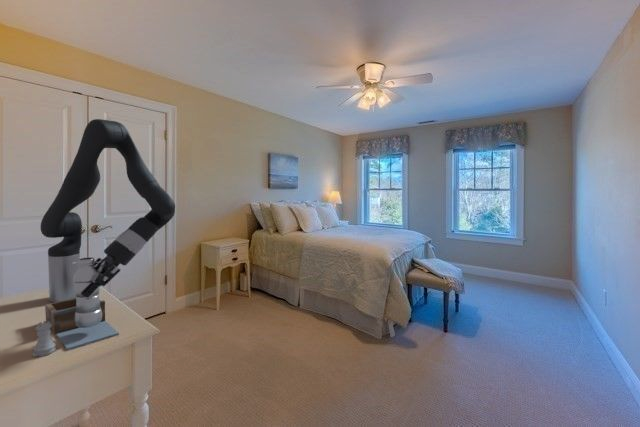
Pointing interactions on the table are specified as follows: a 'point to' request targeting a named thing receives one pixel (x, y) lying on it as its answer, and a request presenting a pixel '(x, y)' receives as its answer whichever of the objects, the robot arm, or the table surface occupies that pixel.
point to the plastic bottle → (86, 306)
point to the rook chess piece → (44, 340)
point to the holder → (65, 315)
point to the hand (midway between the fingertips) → (80, 292)
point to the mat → (86, 335)
